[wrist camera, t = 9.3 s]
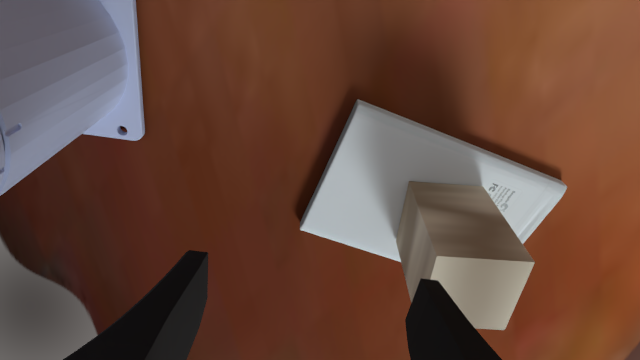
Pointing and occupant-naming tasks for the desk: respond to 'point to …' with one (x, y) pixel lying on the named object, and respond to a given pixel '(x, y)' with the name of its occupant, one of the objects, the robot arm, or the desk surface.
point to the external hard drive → (418, 166)
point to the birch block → (463, 250)
